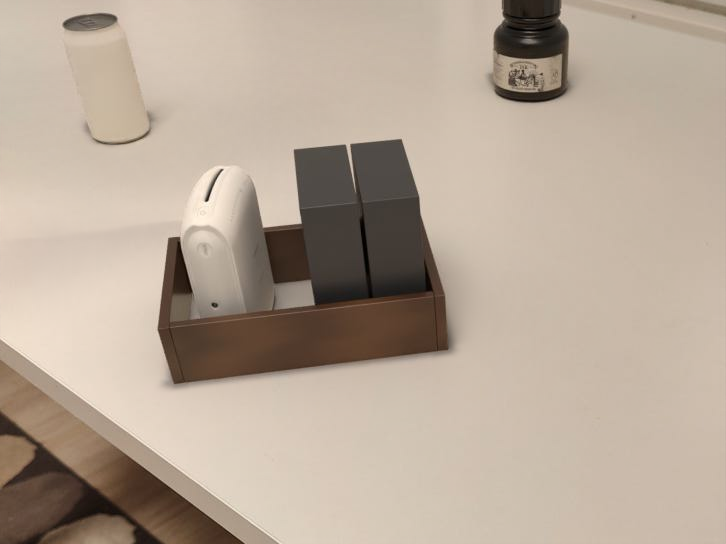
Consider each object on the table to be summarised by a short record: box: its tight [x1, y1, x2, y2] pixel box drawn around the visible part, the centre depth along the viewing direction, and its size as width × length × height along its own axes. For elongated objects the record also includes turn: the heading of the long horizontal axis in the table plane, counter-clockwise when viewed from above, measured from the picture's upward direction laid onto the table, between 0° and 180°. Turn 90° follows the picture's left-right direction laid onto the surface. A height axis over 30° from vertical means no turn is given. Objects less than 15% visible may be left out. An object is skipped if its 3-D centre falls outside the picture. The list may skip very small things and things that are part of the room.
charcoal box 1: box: [293, 144, 370, 305], centre depth 72 cm, size 4×10×12 cm, turn 11°
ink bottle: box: [492, 0, 570, 101], centre depth 110 cm, size 10×9×12 cm
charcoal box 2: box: [349, 138, 426, 299], centre depth 73 cm, size 4×10×12 cm, turn 11°
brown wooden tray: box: [156, 216, 449, 385], centre depth 75 cm, size 21×14×6 cm, turn 101°
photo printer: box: [179, 164, 276, 319], centre depth 71 cm, size 10×4×12 cm, turn 0°
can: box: [61, 12, 151, 145], centre depth 103 cm, size 6×6×12 cm
